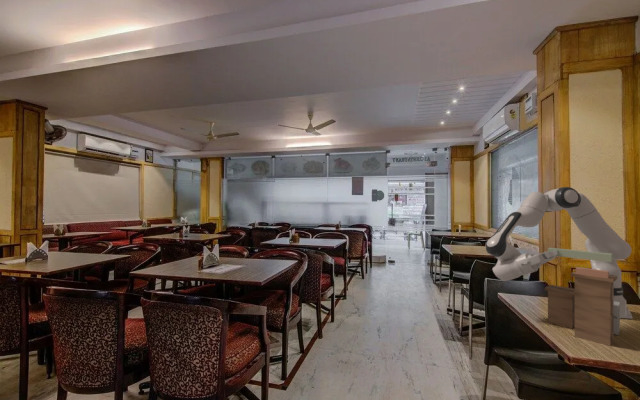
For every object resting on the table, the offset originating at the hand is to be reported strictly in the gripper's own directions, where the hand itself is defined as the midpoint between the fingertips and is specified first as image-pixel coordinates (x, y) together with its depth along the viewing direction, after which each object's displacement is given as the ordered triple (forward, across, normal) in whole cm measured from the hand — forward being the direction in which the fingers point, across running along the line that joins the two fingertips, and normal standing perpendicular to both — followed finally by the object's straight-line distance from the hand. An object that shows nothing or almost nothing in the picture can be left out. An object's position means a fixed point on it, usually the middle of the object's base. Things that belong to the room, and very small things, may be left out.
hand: (559, 251), depth 140 cm
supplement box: (-5, +15, +37) cm, 40 cm away
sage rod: (+5, 0, +5) cm, 7 cm away
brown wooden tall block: (-7, -1, +35) cm, 36 cm away
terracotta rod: (+6, -4, +13) cm, 15 cm away
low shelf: (-18, +9, +29) cm, 35 cm away
